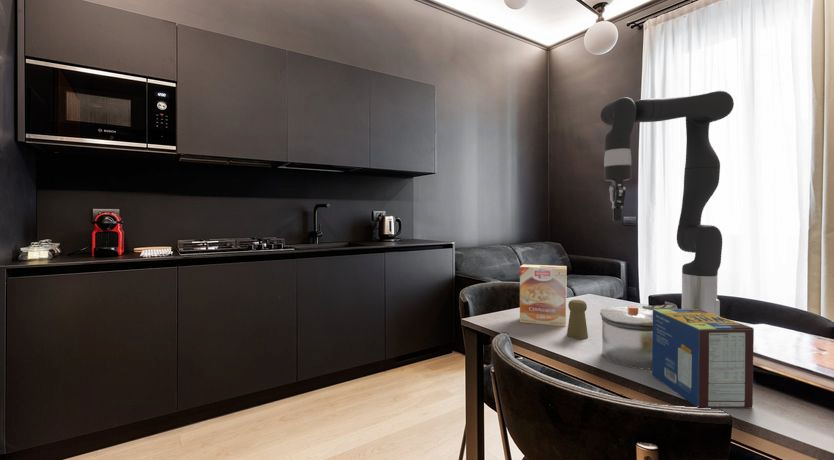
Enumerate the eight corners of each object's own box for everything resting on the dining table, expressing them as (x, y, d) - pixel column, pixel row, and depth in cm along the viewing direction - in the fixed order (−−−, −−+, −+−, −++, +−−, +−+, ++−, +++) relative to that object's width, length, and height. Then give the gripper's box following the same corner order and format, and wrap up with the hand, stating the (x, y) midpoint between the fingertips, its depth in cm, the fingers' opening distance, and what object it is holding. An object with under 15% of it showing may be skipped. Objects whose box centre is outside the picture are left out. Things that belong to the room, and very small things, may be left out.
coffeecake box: (519, 322, 131) (519, 266, 130) (522, 317, 138) (522, 263, 137) (566, 327, 125) (566, 268, 125) (566, 321, 132) (566, 265, 131)
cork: (590, 339, 113) (590, 302, 112) (568, 338, 114) (568, 302, 113) (585, 333, 118) (585, 298, 118) (565, 332, 120) (565, 297, 119)
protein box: (696, 374, 88) (697, 308, 87) (753, 409, 72) (755, 328, 72) (650, 374, 88) (651, 308, 87) (697, 408, 72) (699, 328, 72)
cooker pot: (656, 351, 103) (657, 314, 102) (673, 372, 89) (674, 330, 89) (598, 345, 107) (598, 310, 107) (605, 365, 94) (605, 325, 93)
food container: (662, 346, 107) (663, 310, 106) (641, 339, 112) (641, 306, 112) (687, 338, 112) (687, 305, 112) (665, 333, 118) (666, 301, 117)
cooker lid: (658, 312, 102) (658, 302, 102) (676, 327, 88) (676, 316, 88) (596, 308, 107) (596, 299, 107) (604, 322, 93) (604, 312, 93)
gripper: (635, 161, 111) (635, 220, 112) (626, 166, 124) (626, 220, 124) (607, 163, 114) (606, 221, 114) (601, 168, 126) (600, 220, 127)
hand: (616, 220), depth 119 cm, fingers closed
